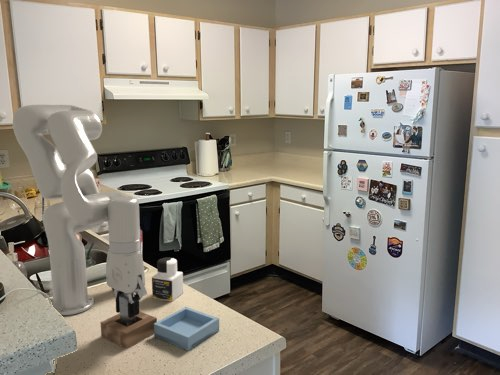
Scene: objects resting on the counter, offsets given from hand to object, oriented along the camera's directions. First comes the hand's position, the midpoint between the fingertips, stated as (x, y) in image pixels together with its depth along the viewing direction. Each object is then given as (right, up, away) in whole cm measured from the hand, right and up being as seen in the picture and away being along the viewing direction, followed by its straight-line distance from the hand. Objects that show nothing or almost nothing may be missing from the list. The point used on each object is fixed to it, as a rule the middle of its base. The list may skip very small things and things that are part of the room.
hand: (127, 312), depth 115 cm
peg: (0, -5, +1) cm, 5 cm away
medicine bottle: (+6, -2, +25) cm, 25 cm away
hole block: (0, -6, +1) cm, 6 cm away
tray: (+15, -6, +1) cm, 16 cm away
